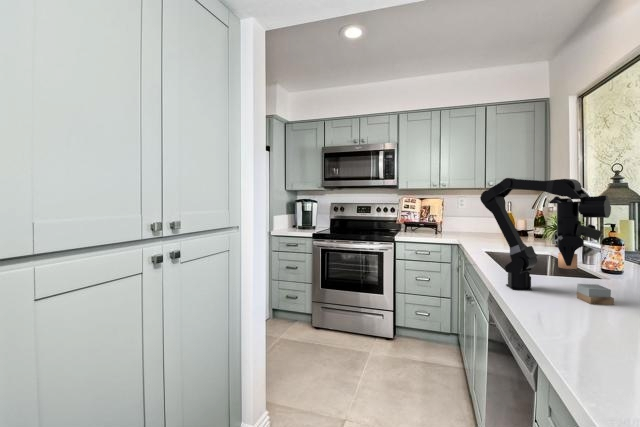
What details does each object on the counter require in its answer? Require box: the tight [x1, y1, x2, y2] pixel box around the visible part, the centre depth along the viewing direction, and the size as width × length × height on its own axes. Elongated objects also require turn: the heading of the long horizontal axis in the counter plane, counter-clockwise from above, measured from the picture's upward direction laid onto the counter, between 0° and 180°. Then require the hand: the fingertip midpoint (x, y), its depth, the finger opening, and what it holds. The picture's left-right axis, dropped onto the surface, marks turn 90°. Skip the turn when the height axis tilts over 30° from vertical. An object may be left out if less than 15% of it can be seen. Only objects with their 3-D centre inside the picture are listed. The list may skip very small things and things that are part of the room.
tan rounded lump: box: [557, 252, 578, 270], centre depth 105 cm, size 5×5×4 cm
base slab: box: [576, 291, 615, 306], centre depth 102 cm, size 6×6×2 cm
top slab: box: [576, 283, 612, 298], centre depth 103 cm, size 6×6×2 cm
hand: (567, 264), depth 106 cm, fingers closed on tan rounded lump, 5 cm apart
